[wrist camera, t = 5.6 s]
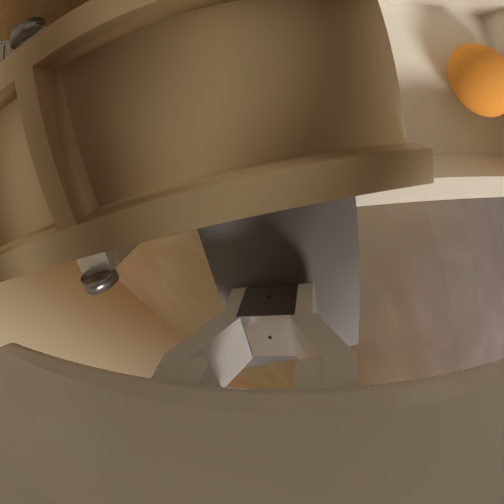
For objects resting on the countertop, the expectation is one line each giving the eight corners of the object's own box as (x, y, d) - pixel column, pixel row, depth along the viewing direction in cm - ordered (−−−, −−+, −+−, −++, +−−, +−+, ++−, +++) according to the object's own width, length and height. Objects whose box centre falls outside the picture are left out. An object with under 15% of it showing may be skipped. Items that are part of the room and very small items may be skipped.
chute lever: (75, 317, 18) (33, 393, 12) (-2, 136, 12) (-87, 169, 5) (357, 265, 17) (411, 355, 10) (320, 16, 10) (386, -46, 3)
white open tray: (266, 0, 11) (246, -34, 7) (484, 7, 7) (527, -7, 3) (306, 179, 16) (303, 211, 12) (506, 168, 12) (551, 195, 8)
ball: (466, 32, 6) (522, 48, 5) (427, 42, 10) (480, 51, 9) (480, 120, 8) (532, 125, 7) (439, 111, 12) (490, 114, 11)
